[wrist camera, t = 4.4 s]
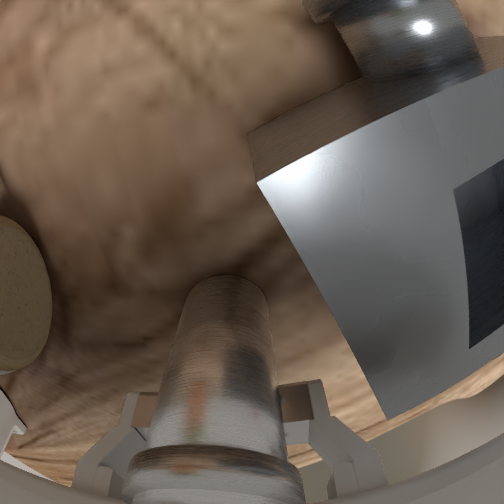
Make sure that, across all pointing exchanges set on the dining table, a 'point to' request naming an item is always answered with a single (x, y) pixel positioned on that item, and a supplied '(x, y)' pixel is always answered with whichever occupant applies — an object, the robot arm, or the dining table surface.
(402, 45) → the valve body
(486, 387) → the dining table surface
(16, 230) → the ceramic mug
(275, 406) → the grey mushroom plunger
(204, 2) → the dining table surface
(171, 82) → the dining table surface
